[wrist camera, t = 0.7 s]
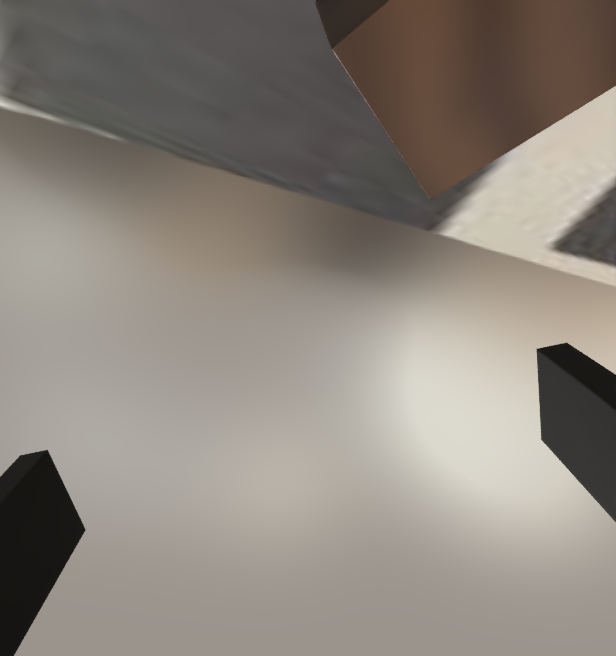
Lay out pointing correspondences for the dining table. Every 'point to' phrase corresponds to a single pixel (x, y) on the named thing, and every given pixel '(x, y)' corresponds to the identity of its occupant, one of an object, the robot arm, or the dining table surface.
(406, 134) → the cabinet
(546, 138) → the dining table surface
